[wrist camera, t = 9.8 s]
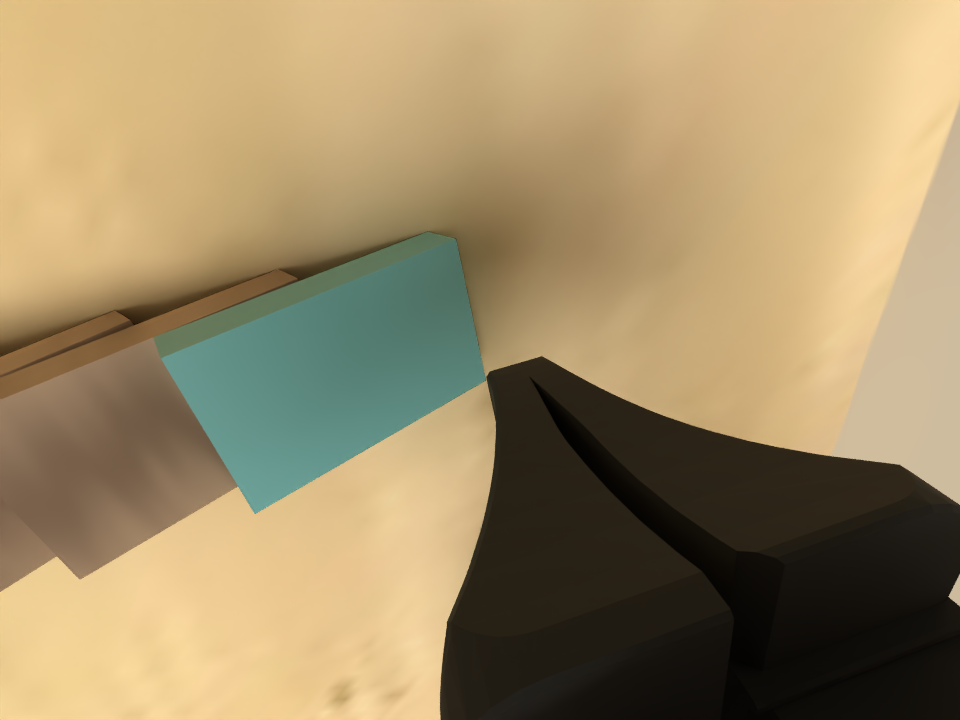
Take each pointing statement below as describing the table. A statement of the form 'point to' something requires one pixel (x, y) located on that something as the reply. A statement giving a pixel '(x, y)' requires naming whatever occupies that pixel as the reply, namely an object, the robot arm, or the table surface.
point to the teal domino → (328, 364)
